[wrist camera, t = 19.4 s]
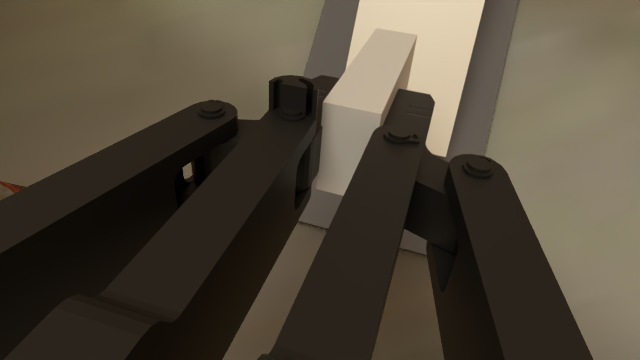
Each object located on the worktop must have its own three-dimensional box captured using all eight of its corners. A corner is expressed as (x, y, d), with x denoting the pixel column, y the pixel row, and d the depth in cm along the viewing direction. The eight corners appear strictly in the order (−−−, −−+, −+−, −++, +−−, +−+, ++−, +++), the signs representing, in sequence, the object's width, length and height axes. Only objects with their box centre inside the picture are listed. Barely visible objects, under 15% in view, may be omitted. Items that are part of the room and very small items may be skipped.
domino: (445, 157, 23) (509, -97, 21) (332, 132, 25) (381, -110, 22) (444, 154, 25) (503, -81, 23) (339, 131, 26) (385, -94, 24)
